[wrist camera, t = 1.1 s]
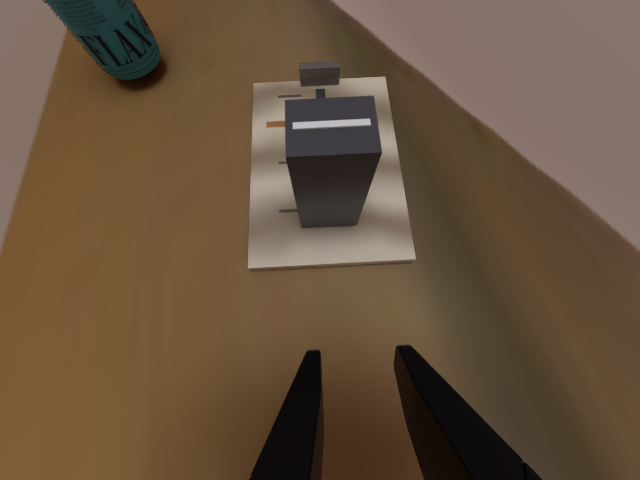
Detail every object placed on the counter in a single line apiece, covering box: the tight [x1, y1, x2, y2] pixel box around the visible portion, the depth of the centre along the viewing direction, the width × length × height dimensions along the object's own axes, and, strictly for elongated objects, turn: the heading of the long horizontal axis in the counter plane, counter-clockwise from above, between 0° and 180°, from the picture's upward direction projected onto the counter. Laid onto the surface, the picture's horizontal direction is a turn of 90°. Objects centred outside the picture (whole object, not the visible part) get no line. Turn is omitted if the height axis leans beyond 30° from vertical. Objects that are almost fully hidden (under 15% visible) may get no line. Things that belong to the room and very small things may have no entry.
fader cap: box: [285, 96, 382, 228], centre depth 18 cm, size 4×5×10 cm
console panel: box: [248, 61, 416, 271], centre depth 24 cm, size 20×14×3 cm
